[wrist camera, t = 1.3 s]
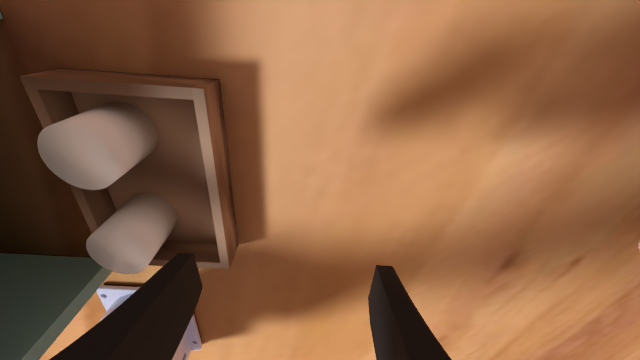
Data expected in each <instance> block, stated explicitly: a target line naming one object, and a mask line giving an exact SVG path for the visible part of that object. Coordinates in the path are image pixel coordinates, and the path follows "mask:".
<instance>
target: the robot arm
mask: <svg viewBox="0 0 640 360" xmlns="http://www.w3.org/2000/svg"><path fill="white" fill-rule="evenodd" d="M201 290H202V283H201V279H200V275H199V271H198V267H197V264H196V260H195V256H194V254H193V253H177V254H176V255H175V256H174V257H173V258H172V259H171V260H169V261H168V262H167V263H166V264H165V265H164V266H163V267H162V268H161V269H160V270H159V271H158V272H157V273H155V274H154V275H153V276H152V277H151V278H150V279H149V280H148V281H147V282H146V283H144V284H143V285H142V286H141V287H129V286H108V285H101V286H100V287H99V288H98V289H97V290H96V291H97V294H98V296H99V297H100V299H101V301H102V303H103V305H104V307H105V309H106V311H107V312H106V313H105V315H104V316H103V317H102V319H101V320H100V321H99V323H98V324H96V325H95V326H94V327H93V328H91V329H90V330H89V331H88V332H86V333H85V334H84V335H82V336H81V337H80V338H78V339H77V340H76V341H74V342H73V343H72V344H70V345H69V346H68V347H66V348H65V349H64V350H62V351H61V352H59V353H58V354H57V355H55V356H54V357H52V358H51V359H49V360H187V359H188V357H189V354H190V352H191V350H200V349H201V347H202V343H201V339H200V335H199V332H198V328H197V324H196V320H195V317H194V311H195V308H196V305H197V303H198V300H199V297H200V293H201ZM368 300H369V314H370V325H371V331H372V336H373V342H374V348H375V353H376V359H377V360H451V358H450V357H449V356H448V354H447V353H446V352H445V350H444V349H443V347H442V346H441V345H440V343H439V342H438V340H437V339H436V337H435V336H434V335H433V333H432V332H431V330H430V329H429V327H428V326H427V324H426V323H425V321H424V319H423V318H422V316H421V315H420V313H419V312H418V310H417V308H416V307H415V305H414V304H413V302H412V300H411V299H410V297H409V295H408V293H407V292H406V290H405V288H404V286H403V285H402V283H401V281H400V279H399V277H398V275H397V274H396V272H395V270H394V268H393V267H392V266H381V265H376V269H375V273H374V277H373V281H372V285H371V289H370V293H369V297H368Z"/></svg>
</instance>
